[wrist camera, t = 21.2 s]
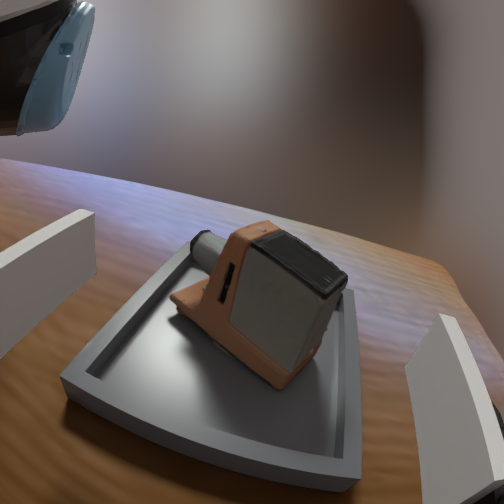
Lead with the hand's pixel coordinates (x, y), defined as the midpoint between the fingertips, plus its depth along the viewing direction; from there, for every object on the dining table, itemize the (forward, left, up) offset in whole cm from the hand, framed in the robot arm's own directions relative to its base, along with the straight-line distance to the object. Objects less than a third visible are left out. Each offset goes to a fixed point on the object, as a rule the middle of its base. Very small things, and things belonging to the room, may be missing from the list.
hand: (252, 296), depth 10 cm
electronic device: (-1, +7, -8) cm, 10 cm away
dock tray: (0, +6, -9) cm, 10 cm away
